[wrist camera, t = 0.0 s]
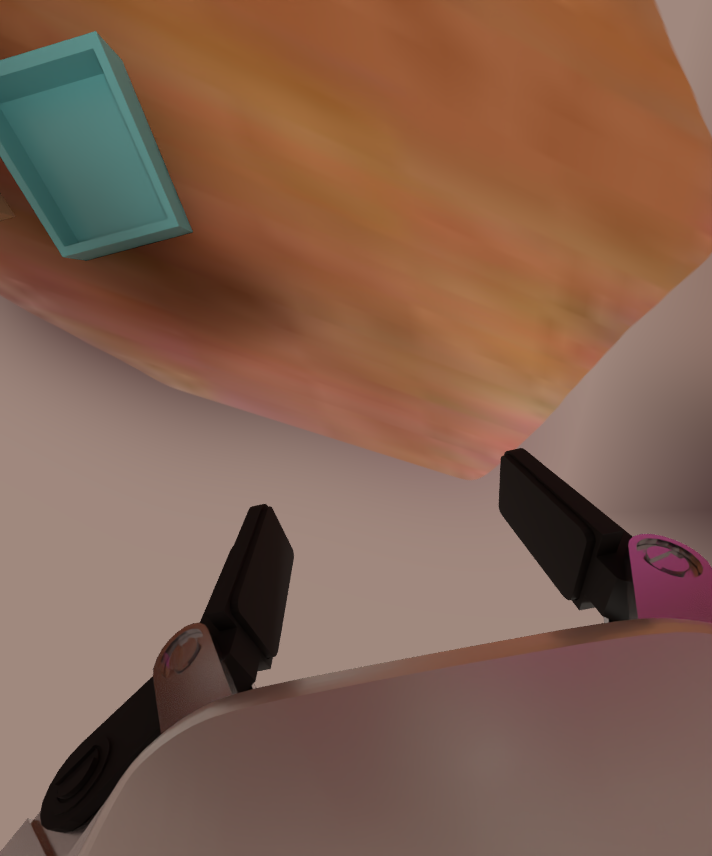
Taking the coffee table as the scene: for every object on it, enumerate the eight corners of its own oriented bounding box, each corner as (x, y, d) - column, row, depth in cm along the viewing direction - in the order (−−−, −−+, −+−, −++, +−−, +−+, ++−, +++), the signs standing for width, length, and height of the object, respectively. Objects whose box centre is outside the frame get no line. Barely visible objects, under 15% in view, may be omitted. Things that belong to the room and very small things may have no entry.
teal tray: (-9, 99, 25) (-50, 75, 23) (121, 60, 25) (95, 31, 22) (86, 260, 31) (62, 257, 29) (192, 232, 31) (179, 226, 28)
